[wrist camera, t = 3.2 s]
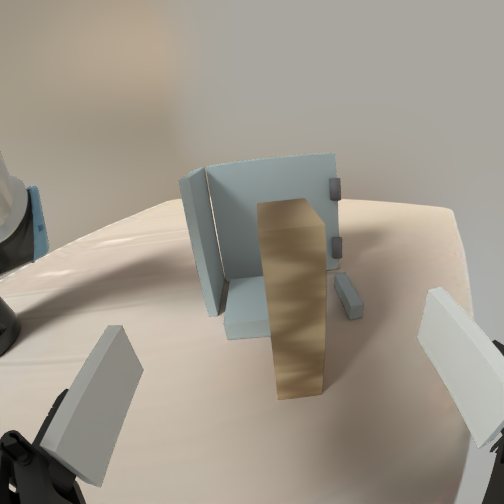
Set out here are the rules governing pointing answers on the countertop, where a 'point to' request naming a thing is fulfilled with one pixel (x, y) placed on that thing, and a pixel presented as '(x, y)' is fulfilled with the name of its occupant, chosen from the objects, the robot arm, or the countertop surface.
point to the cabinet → (256, 231)
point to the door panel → (294, 293)
